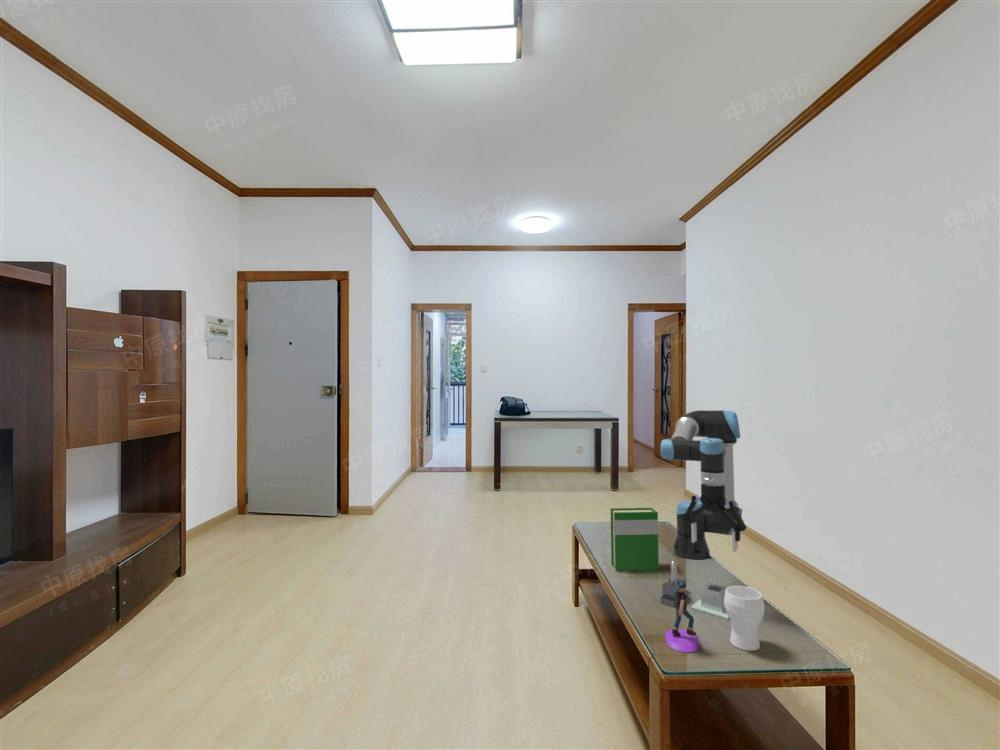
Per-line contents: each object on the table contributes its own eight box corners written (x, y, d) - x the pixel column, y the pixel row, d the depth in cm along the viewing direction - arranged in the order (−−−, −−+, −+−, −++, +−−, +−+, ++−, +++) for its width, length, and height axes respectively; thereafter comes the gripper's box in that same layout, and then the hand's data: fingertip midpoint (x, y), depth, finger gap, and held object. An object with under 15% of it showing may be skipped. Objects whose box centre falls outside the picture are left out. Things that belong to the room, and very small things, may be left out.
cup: (717, 635, 146) (716, 585, 147) (751, 633, 147) (749, 584, 147) (738, 655, 136) (736, 601, 136) (773, 652, 137) (772, 599, 137)
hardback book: (615, 571, 197) (614, 512, 197) (611, 565, 204) (610, 508, 205) (658, 571, 197) (657, 512, 198) (653, 564, 204) (651, 507, 205)
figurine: (706, 649, 139) (704, 586, 139) (677, 654, 137) (675, 590, 137) (687, 633, 148) (685, 574, 148) (659, 637, 146) (658, 577, 146)
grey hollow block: (708, 599, 169) (708, 582, 169) (729, 605, 164) (729, 588, 164) (701, 606, 164) (700, 588, 164) (722, 613, 159) (722, 594, 159)
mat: (704, 597, 173) (704, 595, 173) (740, 607, 164) (739, 605, 164) (690, 608, 164) (690, 606, 164) (727, 620, 156) (727, 618, 156)
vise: (678, 589, 180) (678, 552, 180) (692, 593, 176) (691, 555, 176) (660, 603, 168) (659, 564, 169) (674, 607, 165) (673, 567, 165)
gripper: (672, 480, 171) (674, 540, 171) (748, 490, 154) (750, 557, 154) (681, 477, 177) (682, 535, 177) (755, 486, 160) (757, 551, 159)
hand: (714, 545), depth 165 cm, fingers open, 13 cm apart
